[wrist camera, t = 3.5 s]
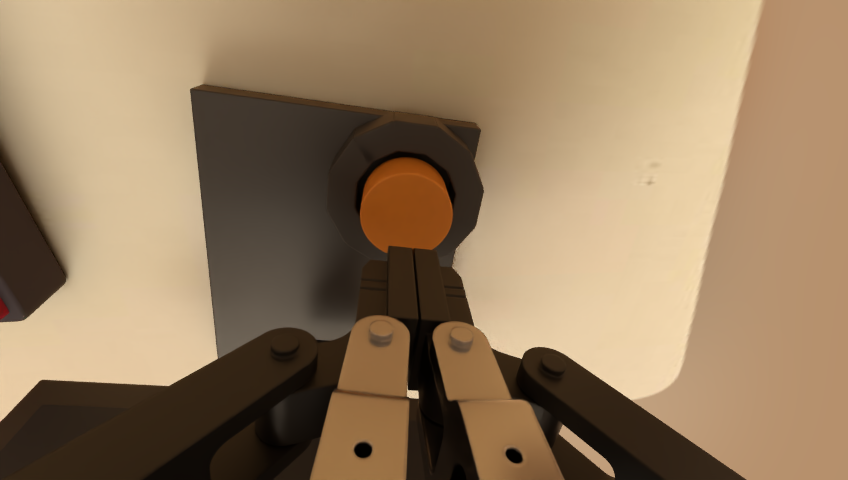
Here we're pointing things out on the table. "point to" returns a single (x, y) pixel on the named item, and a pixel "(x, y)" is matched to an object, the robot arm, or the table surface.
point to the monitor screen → (98, 402)
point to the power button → (405, 205)
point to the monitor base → (307, 203)
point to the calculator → (23, 258)
